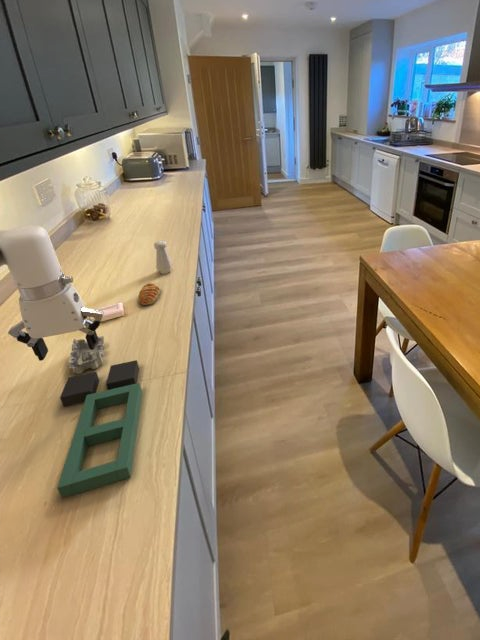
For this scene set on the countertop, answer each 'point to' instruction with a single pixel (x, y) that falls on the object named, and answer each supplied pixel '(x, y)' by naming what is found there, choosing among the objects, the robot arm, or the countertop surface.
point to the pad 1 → (79, 388)
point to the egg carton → (86, 355)
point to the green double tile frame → (91, 435)
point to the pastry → (149, 293)
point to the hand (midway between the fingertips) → (69, 350)
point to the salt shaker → (162, 258)
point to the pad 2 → (122, 375)
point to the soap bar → (110, 311)
